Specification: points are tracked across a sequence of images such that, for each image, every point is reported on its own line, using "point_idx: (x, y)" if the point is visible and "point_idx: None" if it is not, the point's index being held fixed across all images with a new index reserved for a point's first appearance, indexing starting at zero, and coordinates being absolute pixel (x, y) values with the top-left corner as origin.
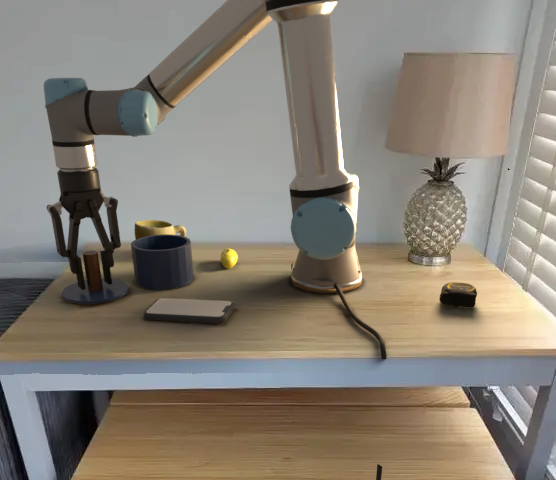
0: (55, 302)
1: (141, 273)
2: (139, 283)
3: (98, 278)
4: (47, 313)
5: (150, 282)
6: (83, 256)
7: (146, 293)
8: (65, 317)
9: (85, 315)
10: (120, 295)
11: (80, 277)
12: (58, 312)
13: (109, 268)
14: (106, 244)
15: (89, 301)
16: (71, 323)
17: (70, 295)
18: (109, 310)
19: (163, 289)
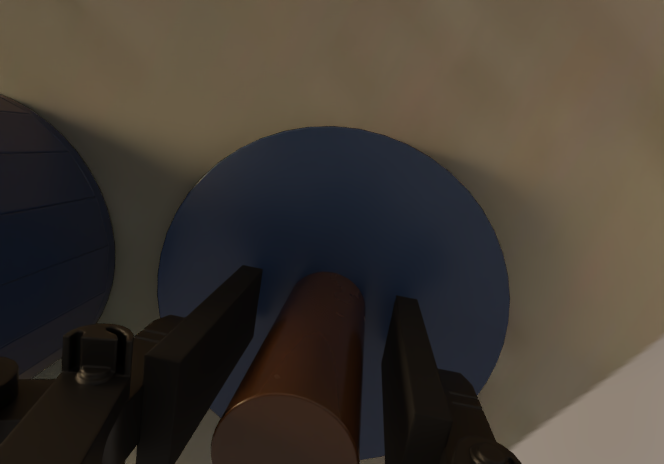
0: (529, 348)
1: (49, 228)
2: (103, 243)
3: (308, 296)
4: (645, 243)
5: (57, 165)
6: (359, 450)
7: (129, 135)
8: (615, 124)
9: (525, 73)
10: (269, 136)
11: (424, 333)
12: (598, 215)
13: (209, 301)
14: (81, 421)
15: (446, 169)
16: (646, 17)
17: (472, 320)
18: (394, 48)
19: (37, 115)
